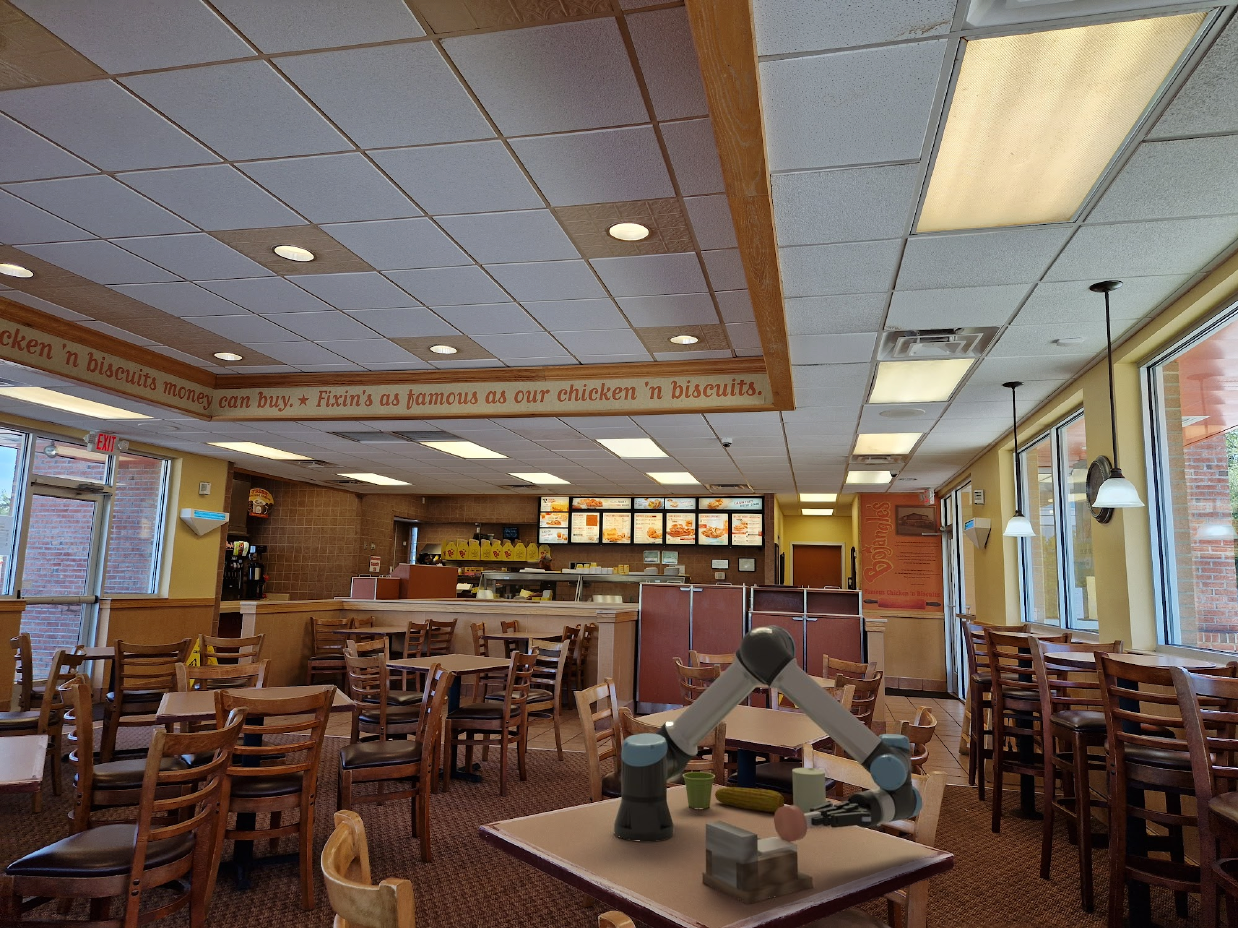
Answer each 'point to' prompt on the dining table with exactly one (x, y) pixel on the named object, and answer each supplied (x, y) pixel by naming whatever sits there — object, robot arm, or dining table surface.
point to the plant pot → (699, 788)
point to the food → (750, 798)
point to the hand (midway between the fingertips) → (798, 822)
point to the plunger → (785, 831)
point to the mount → (749, 866)
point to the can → (808, 788)
